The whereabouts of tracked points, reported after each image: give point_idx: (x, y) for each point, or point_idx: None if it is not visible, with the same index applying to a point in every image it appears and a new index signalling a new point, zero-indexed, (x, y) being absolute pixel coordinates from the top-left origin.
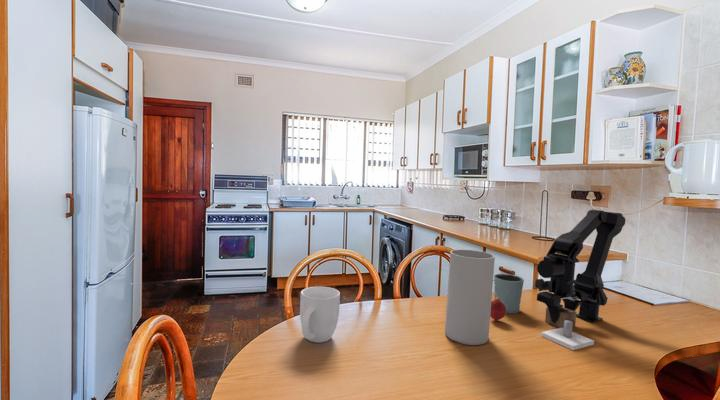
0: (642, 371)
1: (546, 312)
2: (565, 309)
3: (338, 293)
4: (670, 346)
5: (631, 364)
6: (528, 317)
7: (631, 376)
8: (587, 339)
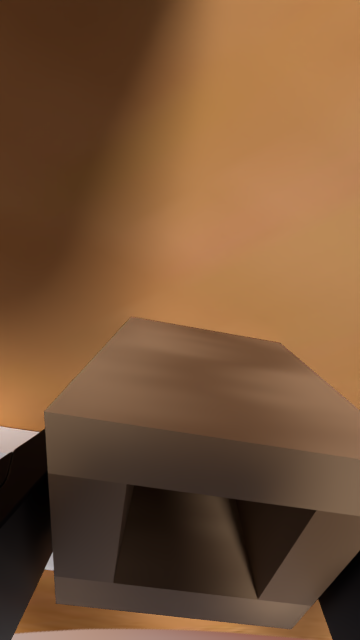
0: (36, 625)
1: (92, 365)
2: (278, 566)
3: None
4: (325, 633)
5: (50, 612)
6: (89, 160)
7: None
8: (51, 560)
